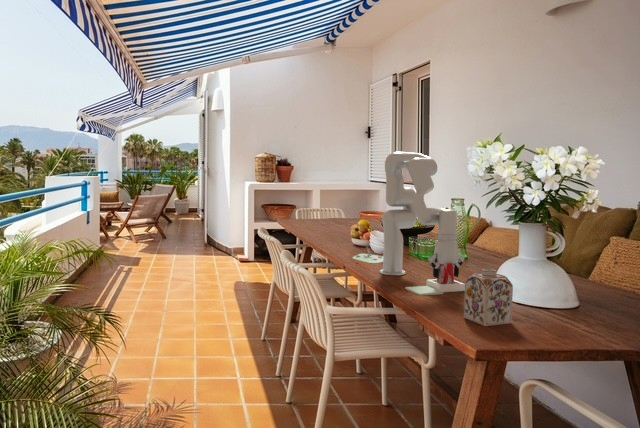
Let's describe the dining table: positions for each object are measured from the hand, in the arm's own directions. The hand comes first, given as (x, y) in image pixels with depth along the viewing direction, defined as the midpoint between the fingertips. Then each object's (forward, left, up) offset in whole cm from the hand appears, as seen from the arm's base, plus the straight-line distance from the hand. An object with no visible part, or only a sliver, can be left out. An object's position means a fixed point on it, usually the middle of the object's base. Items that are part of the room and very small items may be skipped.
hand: (445, 277), depth 241 cm
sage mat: (+3, -12, -5) cm, 13 cm away
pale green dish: (-79, -2, -6) cm, 79 cm away
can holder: (0, 0, -5) cm, 5 cm away
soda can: (0, 0, -5) cm, 5 cm away
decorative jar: (+49, -12, -5) cm, 51 cm away
